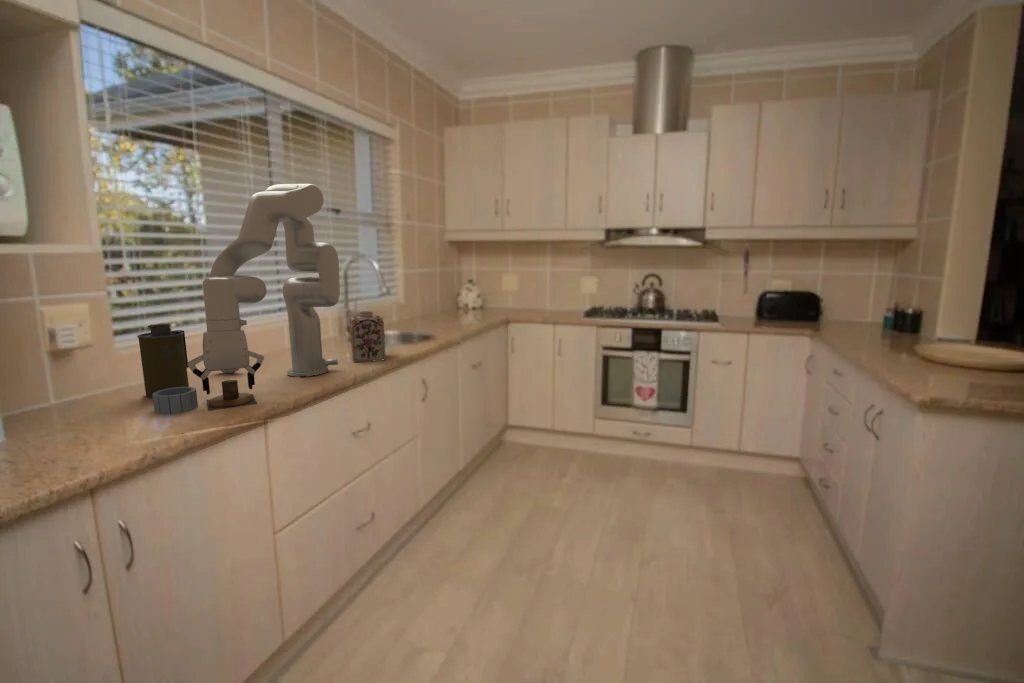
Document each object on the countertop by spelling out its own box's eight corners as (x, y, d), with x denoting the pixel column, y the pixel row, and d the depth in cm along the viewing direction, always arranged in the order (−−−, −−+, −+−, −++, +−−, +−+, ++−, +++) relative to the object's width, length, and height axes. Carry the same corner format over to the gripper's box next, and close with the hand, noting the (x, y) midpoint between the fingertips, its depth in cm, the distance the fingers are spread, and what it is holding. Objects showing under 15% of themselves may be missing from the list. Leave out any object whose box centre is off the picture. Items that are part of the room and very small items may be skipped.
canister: (160, 402, 131) (150, 328, 128) (136, 397, 135) (127, 325, 132) (200, 392, 141) (192, 322, 137) (177, 388, 145) (169, 320, 142)
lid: (250, 394, 137) (249, 375, 136) (255, 403, 128) (253, 383, 128) (208, 400, 131) (206, 380, 130) (210, 410, 123) (207, 388, 122)
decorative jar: (352, 362, 180) (349, 313, 177) (351, 356, 191) (349, 310, 188) (386, 360, 184) (384, 312, 181) (383, 354, 195) (381, 309, 191)
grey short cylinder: (197, 403, 131) (195, 385, 130) (198, 412, 123) (196, 392, 122) (156, 409, 126) (153, 389, 125) (154, 418, 118) (151, 398, 117)
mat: (252, 395, 138) (252, 393, 137) (257, 405, 128) (257, 403, 128) (206, 402, 132) (206, 399, 131) (208, 413, 123) (207, 410, 122)
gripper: (259, 322, 134) (264, 383, 137) (183, 326, 125) (190, 392, 128) (263, 325, 128) (268, 389, 131) (183, 330, 119) (190, 399, 121)
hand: (229, 390), depth 129 cm, fingers open, 9 cm apart
